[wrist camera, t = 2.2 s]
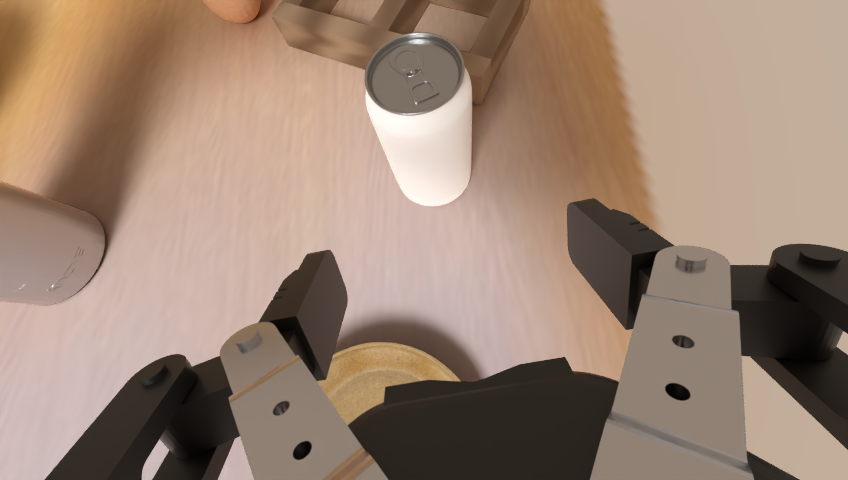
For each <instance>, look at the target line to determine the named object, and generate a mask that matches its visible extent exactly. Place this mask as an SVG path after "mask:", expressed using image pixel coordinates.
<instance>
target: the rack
mask: <svg viewBox="0 0 848 480" xmlns="http://www.w3.org/2000/svg"><path fill="white" fill-rule="evenodd" d="M337 1H338V0H283V1H282V2H281V4H280V5H279V6H278V8H277V9H276V11H275V12H274V13H273V15H272V18H273V20H274V21H275V23H276V25H277V26H278V28H279V30H280V32H281V33H282V35H283V37H284V38H285V40H286V42H287V43H288V45H289V46H291V47H294V48H298V49H301V50H304V51H307V52H310V53H314V54H317V55H320V56H323V57H326V58H330V59H333V60H336V61H339V62H342V63H346V64H349V65H352V66H355V67H358V68H362V69H365V70H366V67H367V65H368V62H369V60H370V59H371V57H372V56H373V54H374V53H375V52H376V51H377V50H378V49H379V48H380V47H381V46H382V45H383V44H385V43H386V42H388V41H390V40H391V39H393V38H395V37H398V36H401V35H404V34H408V33H412V32H413V30H414V28H415V27H416V25H417V23H418V22H419V20H420V18H421V17H422V15H423V13H424V11H425V10H426V8H427V6H428V5H429V3H432V4H436V5H441V6H445V7H449V8H453V9H457V10H461V11H465V12H469V13H473V14H477V15H481V16H485V17H488V19H487V21H486V23H485V25H484V26H483V28H482V30H481V32H480V34H479V36H478V38H477V40H476V42H475V43H474V45H473V47H472V49H471V51H470V53H467V52H464V51H460V50H459V51H460V53H461V55H462V57H463V60H464V65H465V68H466V70H467V72H468V74H469V76H470V80H471V86H472V103H474V104H477V105H480V106H481V104H482V102H483V100H484V98H485V96H486V94H487V92H488V90H489V88H490V86H491V84H492V82H493V80H494V78H495V76H496V74H497V72H498V70H499V68H500V66H501V64H502V62H503V60H504V58H505V56H506V54H507V52H508V50H509V48H510V46H511V44H512V42H513V40H514V38H515V36H516V34H517V32H518V30H519V28H520V26H521V24H522V22H523V20H524V18H525V16H526V14H527V12H528V8H529V3H530V0H384V2H383V4H382V5H381V7H380V8H379V10H378V12H377V13H376V15H375V16H374V18H373V20H372V21H371V23H370V24H369V25H366V24H362V23H359V22H355V21H351V20H348V19H344V18H341V17H337V16H333V15H330V14H329V13H330V11H331V10H332V8H333V7H334V5H335V4H336V2H337Z"/></svg>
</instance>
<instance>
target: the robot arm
mask: <svg viewBox="0 0 848 480" xmlns="http://www.w3.org/2000/svg"><path fill="white" fill-rule="evenodd" d="M567 231H568V251H569V255H570V258H571V260H572V262H573V264H574V265H575V266H576V268H577V269H578V270H579V271H580V273H581V274H582V275H583V276H584V278H585V279H586V280H587V281H588V283H589V284H590V285H591V286H592V288H593V289H594V290H595V291H596V293H597V294H598V295H599V296H600V298H601V299H602V300H603V302H604V303H605V304H606V305H607V307H608V308H609V309H610V310H611V312H612V313H613V314H614V315H615V317H616V318H617V319H618V320H619V322H620V323H621V324H622V325H623V327H624V328H625V329H626V330H629V329H633V332H632V335H631V339H630V343H629V347H628V351H627V354H626V358H625V362H624V366H623V370H622V373H621V377H620V381H619V382H618V381H615V380H613V379H610V378H607V377H604V376H600V375H596V374H591V373H585V372H576V371H572V369H571V367H570V366H569V364H568V362H567V360H566V358H565V357H562V358H556V359H550V360H544V361H538V362H532V363H526V364H520V365H517V366H515V367H512V368H510V369H507V370H505V371H502V372H500V373H497V374H495V375H492V376H490V377H487V378H485V379H482V380H480V381H476V382H461V381H443V380H423V381H417V382H411V383H405V384H399V385H393V386H387V387H385V394H384V402H383V403H380V404H378V405H376V406H374V407H372V408H370V409H369V410H367V411H365V412H364V413H362V414H361V415H359V416H358V417H357V418H356V419H354V420H353V421H352V422H351V423H350V424H349V425H348V426H347V424H346V423H345V421H344V420H343V418H342V417H341V416H340V414H339V413H338V411H337V410H336V408H335V407H334V405H333V404H332V403H331V401H330V400H329V398H328V397H327V395H326V394H325V393H324V391H323V390H322V388H321V387H320V385H319V384H318V382H317V381H321V380H326V379H327V375H328V371H329V368H330V364H331V361H332V357H333V354H334V350H335V346H336V343H337V339H338V336H339V332H340V328H341V325H342V321H343V318H344V314H345V311H346V307H347V300H348V299H347V291H346V287H345V284H344V282H343V279H342V276H341V274H340V271H339V268H338V265H337V263H336V260H335V257H334V255H333V253H332V252H331V251H330V250H325V251H320V252H315V253H310V254H307V255H306V257H305V258H304V260H303V262H302V264H301V266H300V267H299V269H298V270H295V271H294V272H293V273H291V274H290V275H289V276H288V277H287V278H286V279H285V280H284V281H283V282H282V284H281V286H280V287H279V289H278V292H276V294H275V296H274V297H273V300H272V301H271V302H270V304H269V306H268V307H267V309H266V311H265V312H264V314H263V316H262V317H261V319H260V321H259V322H258V323H255V324H252V325H250V326H247V327H245V328H243V329H241V330H240V331H238V332H236V333H235V334H234V335H232V336H231V337H230V338H229V339H228V340H227V341H226V342H225V343H224V345H223V346H222V348H221V350H220V356H218V357H216V358H213V359H211V360H208V361H206V362H203V363H200V364H198V365H195V366H193V367H192V366H191V364H190V363H189V362H188V360H187V359H186V357H185V356H183V355H180V354H175V355H169V356H166V357H163V358H161V359H158V360H156V361H154V362H152V363H150V364H149V365H147V366H146V367H144V368H143V369H141V370H140V371H139V372H137V373H136V374H135V375H134V376H133V377H132V378H131V379H130V380H129V381H128V382H127V383H126V384H125V385H124V386H123V388H122V389H121V390H120V391H119V392H118V394H117V395H116V396H115V397H114V398H113V399H112V401H111V402H110V403H109V404H108V405H107V407H106V408H105V409H104V410H103V411H102V412H101V414H100V415H99V416H98V417H97V418H96V420H95V421H94V422H93V423H92V424H91V425H90V427H89V428H88V429H87V430H86V431H85V433H84V434H83V435H82V436H81V437H80V438H79V440H78V441H77V442H76V443H75V444H74V446H73V447H72V448H71V449H70V450H69V452H68V453H67V454H66V455H65V456H64V457H63V459H62V460H61V461H60V462H59V463H58V465H57V466H56V467H55V468H54V469H53V470H52V472H51V473H50V474H49V475H48V476H47V478H46V479H45V480H142V478H141V477H142V469H143V466H144V464H145V461H146V460H147V458H148V456H149V455H150V453H151V452H152V450H153V448H154V447H155V445H156V444H157V442H158V440H159V439H160V440H161V441H162V442H163V443H164V444H165V446H166V447H167V448H168V449H169V452H168V454H167V455H166V457H165V459H164V461H163V462H162V464H161V466H160V467H159V469H158V471H157V473H156V474H155V476H154V478H153V479H152V480H218V477H219V475H220V473H221V470H222V468H223V465H224V463H225V461H226V458H227V456H228V454H229V451H230V449H231V447H232V444H233V442H234V439H235V438H237V437H239V436H240V437H241V440H242V443H243V446H244V449H245V452H246V455H247V458H248V462H249V465H250V468H251V471H252V474H253V477H254V480H799V479H797V478H795V477H794V476H792V475H790V474H788V473H786V472H785V471H783V470H780V469H779V468H777V467H775V466H774V465H772V464H770V463H768V462H766V461H764V460H763V459H761V458H759V457H757V456H755V455H753V454H752V453H750V452H748V451H746V434H745V415H744V398H743V397H744V396H743V379H742V359H741V356H751V358H752V359H753V360H754V361H755V362H756V363H757V364H758V365H759V366H761V368H762V369H764V370H765V371H766V372H767V373H768V374H769V375H770V376H771V377H772V378H773V379H774V380H775V381H776V382H777V383H778V384H779V385H780V386H781V387H782V388H784V389H785V390H786V391H787V392H788V393H789V394H790V395H791V396H792V397H793V398H794V399H795V400H796V401H797V402H798V403H799V404H800V405H802V407H803V408H805V409H806V410H807V411H808V412H809V413H810V414H811V415H812V416H813V417H814V418H815V419H816V420H817V421H818V422H819V423H820V424H821V425H822V426H823V427H824V428H826V429H827V430H828V431H829V432H830V433H831V434H832V435H833V436H834V437H835V438H836V439H837V440H838V441H839V442H840V443H841V444H842V445H843V446H844V447H845V448H846V449H848V355H847V354H846V353H844V352H843V351H841V350H840V349H839V348H837V347H836V346H837V344H838V341H839V339H840V337H841V335H842V332H843V331H845V332H846V333H847V334H848V252H846V251H843V250H840V249H836V248H832V247H827V246H821V245H812V244H790V245H784V246H781V247H778V248H776V249H775V250H774V251H773V253H772V256H771V260H770V263H769V265H730V263H729V261H728V260H727V259H726V258H725V257H724V256H722V255H721V254H719V253H717V252H715V251H712V250H709V249H705V248H701V247H694V246H674V245H673V244H671V243H670V242H668V241H667V240H665V239H664V238H663V237H661V236H660V235H658V234H657V233H656V232H654V231H653V230H649V228H648V227H647V226H646V225H644V224H643V223H640V221H638V220H637V219H635V218H634V217H633V216H631V215H630V214H627V213H624V212H621V211H617V210H614V209H613V210H610V209H608V208H607V207H606V206H604V205H603V204H602V203H600V202H599V201H597V200H596V199H594V198H592V199H587V200H582V201H577V202H572V203H569V204H568V208H567ZM104 248H105V234H104V230H103V227H102V225H101V223H100V221H99V220H98V219H97V218H96V217H95V216H94V215H92V214H90V213H88V212H86V211H83V210H80V209H77V208H74V207H72V206H69V205H66V204H63V203H60V202H58V201H55V200H52V199H49V198H47V197H44V196H41V195H39V194H36V193H33V192H30V191H27V190H25V189H22V188H19V187H16V186H13V185H11V184H8V183H5V182H2V181H0V302H10V303H20V304H30V305H46V306H47V305H52V304H56V303H59V302H61V301H64V300H66V299H68V298H69V297H71V296H72V295H74V294H75V293H77V292H78V291H79V290H80V289H81V288H82V287H83V286H85V285H86V283H87V282H88V281H89V280H90V279H91V277H92V276H93V275H94V273H95V271H96V270H97V268H98V266H99V264H100V261H101V259H102V257H103V252H104Z"/></svg>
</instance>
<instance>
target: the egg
mask: <svg viewBox="0 0 848 480" xmlns="http://www.w3.org/2000/svg"><path fill="white" fill-rule="evenodd" d="M202 1H203V2H204V3H205V5H206V6H207V7H208V8H209V9H210V10H211V11H212V12H213V13H215V14H216V15H218V16H219V17H221V18H222V19H224V20H227V21H229V22H233V23H238V24H239V23H247V22H250V21H252V20H253V19H254V18H255V17H256V16H257V14H258V12H259V10H260V5H261V0H202Z"/></svg>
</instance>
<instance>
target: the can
mask: <svg viewBox="0 0 848 480" xmlns="http://www.w3.org/2000/svg"><path fill="white" fill-rule="evenodd" d="M365 86H366V106H367V110H368V113H369V116H370V118H371V121H372V123H373V126H374V128H375V131H376V133H377V135H378V138H379V140H380V143H381V145H382V147H383V150H384V152H385V154H386V157H387V159H388V161H389V164H390V166H391V168H392V171H393V173H394V175H395V178H396V180H397V182H398V184H399V186H400V188H401V190H402V192H403V193H404V194H405V195H406V196H407V197H408V198H409V199H410V200H412V201H413V202H415V203H418V204H420V205H424V206H440V205H444V204H447V203H449V202H451V201H453V200H455V199H456V198H457V197H459V196H460V195H461V194H462V193H463V191H464V190H465V189H466V187H467V185H468V183H469V180H470V176H471V154H472V86H471V80H470V76H469V74H468V72H467V70H466V68H465V65H464V60H463V57H462V55H461V53H460V51H459V50H458V48H457V47H456V46H455V45H454V44H453V43H452V42H451V41H449V40H448V39H446V38H444V37H442V36H440V35H437V34H433V33H427V32H414V33H408V34H404V35H401V36H398V37H395V38H393V39H391V40H390V41H388V42H386V43H385V44H383V45H382V46H381V47H380V48H379V49H378V50H377V51H376V52H375V53H374V54H373V56H372V57H371V59H370V60H369V62H368V65H367V67H366V71H365Z"/></svg>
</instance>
